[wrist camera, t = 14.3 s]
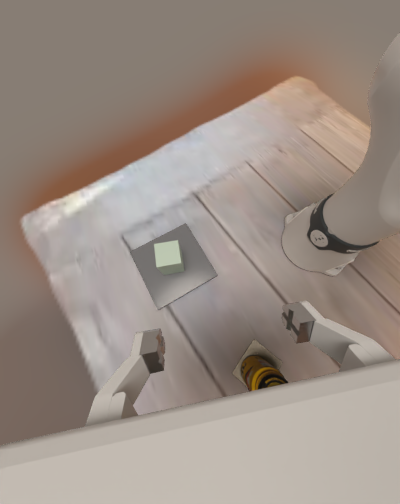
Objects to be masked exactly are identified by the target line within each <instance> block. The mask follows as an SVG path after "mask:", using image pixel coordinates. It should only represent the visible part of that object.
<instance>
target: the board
mask: <svg viewBox="0 0 400 504" xmlns="http://www.w3.org/2000/svg"><path fill="white" fill-rule="evenodd" d="M176 240H178V242H179V245H180V249H181V252H182V258H183V264H184V271H183V272H178V273H172V274H166V275H164V274H163V273H162V272H161V271H160V270H159V269H158V268H157V267H156V259H155V249H154V244H157V243H163V242H169V241H176ZM130 253H131V255H132V258H133V260H134V262H135V264H136V266H137V268H138V270H139V272H140V274H141V276H142V278H143V280H144V282H145V285H146V287H147V289H148V291H149V293H150V295H151V297H152V299H153V301H154V303H155V305H156V307H157V309H158V310H159V309H161V308H163V307H165V306H166V305H168V304H170V303H171V302H173V301H175V300H177V299H178V298H180V297H182V296H183V295H185V294H187V293H189V292H190V291H192V290H194V289H195V288H197V287H199V286H201V285H202V284H204V283H206V282H207V281H209V280H211V279H213V278H214V277H216V276H217V273H216V272H215V270H214V268H213V267H212V265H211V263H210V262H209V260H208V259H207V257H206V255H205V254H204V252H203V250H202V249H201V247H200V246H199V244H198V242H197V241H196V239H195V237H194V236H193V234H192V233H191V231H190V229H189V228H188V226H187V224H186V223H185V224H183V225H181V226H179V227H177V228H176V229H174V230H172V231H170V232H168V233H166V234H164V235H162V236H160V237H158V238H156V239H154V240H152V241H150V242H148V243H146V244H144V245H142V246H141V247H139V248H137V249H135V250H133V251H131V252H130Z"/></svg>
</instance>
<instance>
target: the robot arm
mask: <svg viewBox="0 0 400 504" xmlns="http://www.w3.org/2000/svg"><path fill="white" fill-rule="evenodd" d="M367 104H368V108H369V113H370V119H371V120H370V121H371V133H370V141H369V146H368V150H367V153H366V155H365V158H364V160H363V162H362V164H361V165H360V167H359V168H358V170H357V171H356V172H355V173H354V175H353V176H352V177H351V178H350V179H349V180H348V181H347V182H346V183H345V184H344V185H343V186H342V187H341V188H340V189H339V190H338V191H337V192H336V193H334V194H331V195H329V196H328V197H327V198H323V199H321V200H319V201H318V202H317V205H316V204H315V203H312V204H311V205H309V207H308V206H307V207H305V208H304V209H303V210H302V211H298V212H295V213H292V214H289V215H287V216H286V217H285V229H284V232H283V235H282V246H283V249H284V252H285V254H286V255H287V257H288V258H289V259H290V260H291V261H292V262H293V263H294V264H295V265H297V266H298V267H300V268H302V269H304V270H308V271H314V272H322V273H324V274H326V275H329V276H335V275H338V274H339V273H340V271H341V270H342V269H343V268H344V267H345V266H346V265H347V264H348V263H351V262H353V261H354V260H355V259H354V258H355V257H356V256H357V255H358V254H359V253H360V252H361V251H363V250H366V249H368V248H370V247H371V246H374V245H375V244H377V243H378V242H379V241H380V240H383V239H385V238H388V237H390V236H393V235H395V234H398V233H400V32H399V34H398V35H397V36H396V38H395V39H394V40H393V41H392V43H391V44H390V46H389V47H388V49H387V50H386V52H385V53H384V55H383V57H382V58H381V60H380V62H379V64H378V66H377V68H376V70H375V72H374V75H373V78H372V80H371V83H370V87H369V92H368V101H367ZM293 217H294V218H293ZM335 268H336V269H335ZM282 309H283V311H284V312H283V313H282V322H283V324H284V326H285V328H286V329H288V330H289V331H290V335H291V337H292V338H293V340H294V341H295V342H296V344H297V343H303V342H309V341H310V343H311V344H313V345H314V346H316V347H317V348H319V349H320V350H322V351H323V352H325V353H326V354H327V355H329V356H330V357H332V358H333V359H335V360H336V361H338V362H339V363H340V364H341V367H340V370H339V372H338V373H333V374H328V375H324V376H319V377H314V378H310V379H305V380H300V381H296V382H291V383H287V384H282V385H277V386H273V387H268V388H263V389H259V390H254V391H249V392H245V393H240V394H235V395H231V396H226V397H222V398H217V399H212V400H208V401H203V402H198V403H194V404H189V405H184V406H180V407H175V408H171V409H166V410H161V411H157V412H152V413H147V414H143V415H138V414H137V412H136V411H135V409H134V407H133V404H134V403H135V401H136V399H137V397H138V395H139V394H140V392H141V390H142V388H143V386H144V385H145V383H146V381H147V379H148V378H149V376H150V374H151V373H156V372H160V371H164V361H165V359H164V356H163V355H164V353H165V342H164V338H163V336H162V331H161V329H154V330H148V331H142V332H136V334H135V337H134V341H133V345H132V349H131V354H130V357H129V358H127V359H126V360H125V361H124V362H123V364H122V365H121V366H120V367H119V368H118V370H117V371H116V372H115V373H114V374H113V376H112V377H111V378H110V379H109V381H108V382H107V383H106V384H105V385H104V387H103V388H102V389H101V390H100V391H99V393H98V394H97V395H96V396H95V399H94V402H93V404H92V407H91V410H90V413H89V416H88V419H87V422H86V425H85V427H82V428H77V429H73V430H68V431H64V432H59V433H54V434H49V435H45V436H40V437H36V438H31V439H27V440H21V441H16V442H12V443H7V444H4V445H2V446H0V504H400V359H398V360H396V359H395V358H393V357H392V356H391V355H390V354H389V353H388V352H387V351H386V350H385V349H383V348H382V347H381V346H380V345H379V344H378V343H377V342H376V341H374V340H373V339H371V338H369V337H367V336H365V335H362V334H360V333H358V332H356V331H354V330H351V329H349V328H347V327H345V326H343V325H340V324H338V323H336V322H334V321H332V320H329V319H325V318H324V317H323V316H322V315H321V314H320V313H319V312H318V311H317V310H316V309H315V308H314V307H313V306H312V305H311V304H310V303H309V302H308V301H300V302H295V303H290V304H285V305H283V308H282Z"/></svg>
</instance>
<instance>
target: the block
mask: <svg viewBox="0 0 400 504" xmlns="http://www.w3.org/2000/svg"><path fill="white" fill-rule="evenodd" d="M154 249H155V259H156V267H157V268H158V269H159V270H160V271H161V272H162V273H163V274H164V275H166V274H172V273H178V272H183V271H184V264H183V258H182V252H181V249H180V245H179V242H178V240H176V241H169V242H163V243H157V244H154Z"/></svg>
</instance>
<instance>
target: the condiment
mask: <svg viewBox="0 0 400 504" xmlns="http://www.w3.org/2000/svg"><path fill="white" fill-rule="evenodd" d="M256 353H258V354H256ZM255 354H256V355H255ZM282 363H283V362H282V361H281V360H279V359H278V358H277V357H276V356H274V355H273V354H272V353H271V352H269V351H268V350H267V349H266V348H265V347H263V346H262V345H261V344H260V343H258V342H257V341H256V340H255V339H254V340H253V341H252V343H251V344H250V346H249V347H248V349H247V351H246V352H245V354H244V355H243V357H242V358H241V360H240V361H239V363H238V364H237V366H236V368H235V369H234V371H233V372H232V374H233V375H234V376H235V377H236V378H238V379H239V380H240V381H241V382H242V383H243V384H244V385H246V386H247V387H248V389H249V391H254V390H259V389H263V388H268V387H273V386H277V385H282V384H287V383H288V381H286V380H285V378H284V376H283V375H282V374H281V373H280V372H279V371H278V370H279V368H280V367H281V365H282Z"/></svg>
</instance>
